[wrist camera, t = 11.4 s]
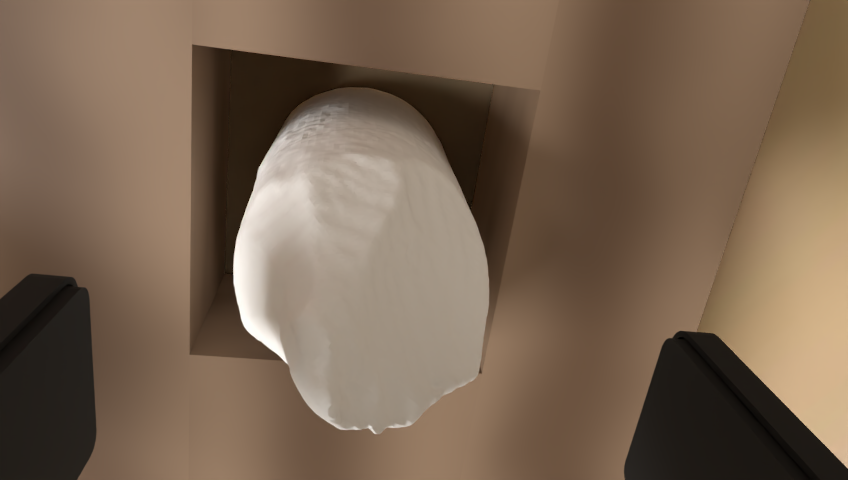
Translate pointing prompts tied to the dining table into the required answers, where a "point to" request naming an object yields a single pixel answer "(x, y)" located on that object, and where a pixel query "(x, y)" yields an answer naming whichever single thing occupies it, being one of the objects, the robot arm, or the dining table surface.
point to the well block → (492, 210)
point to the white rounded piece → (363, 261)
